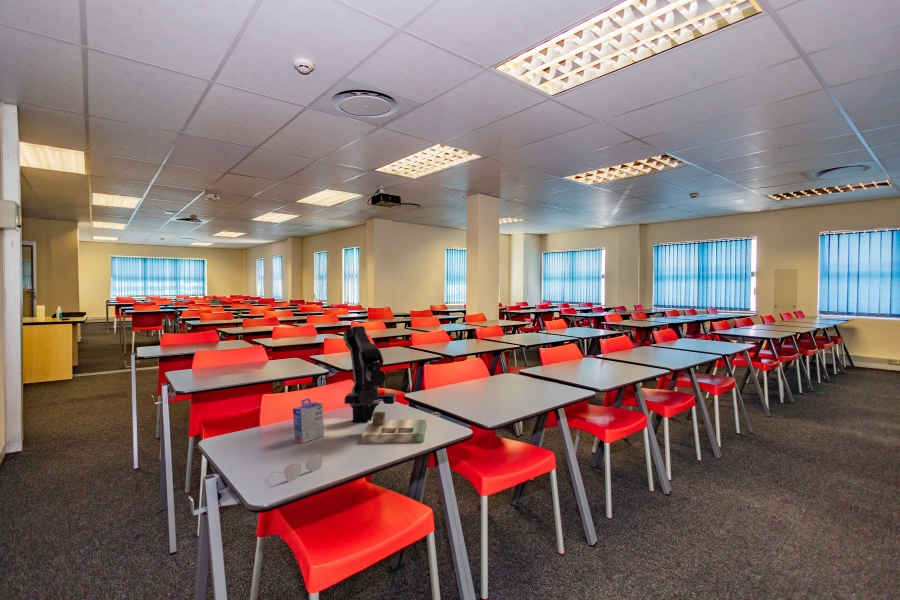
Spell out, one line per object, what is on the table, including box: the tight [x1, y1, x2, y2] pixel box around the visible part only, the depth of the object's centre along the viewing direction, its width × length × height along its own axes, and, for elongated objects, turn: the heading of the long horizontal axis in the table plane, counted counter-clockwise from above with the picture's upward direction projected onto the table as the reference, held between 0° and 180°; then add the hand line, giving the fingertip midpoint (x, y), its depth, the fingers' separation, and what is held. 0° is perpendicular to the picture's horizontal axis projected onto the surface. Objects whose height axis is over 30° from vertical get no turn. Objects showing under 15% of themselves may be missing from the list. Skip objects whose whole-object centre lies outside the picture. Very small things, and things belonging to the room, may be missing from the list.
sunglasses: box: [269, 453, 324, 483], centre depth 129 cm, size 14×8×5 cm, turn 143°
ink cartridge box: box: [292, 398, 325, 444], centre depth 157 cm, size 10×6×14 cm, turn 145°
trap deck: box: [361, 419, 427, 444], centre depth 159 cm, size 22×16×3 cm
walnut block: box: [372, 410, 386, 425], centre depth 163 cm, size 4×4×4 cm
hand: (370, 420), depth 163 cm, fingers closed
